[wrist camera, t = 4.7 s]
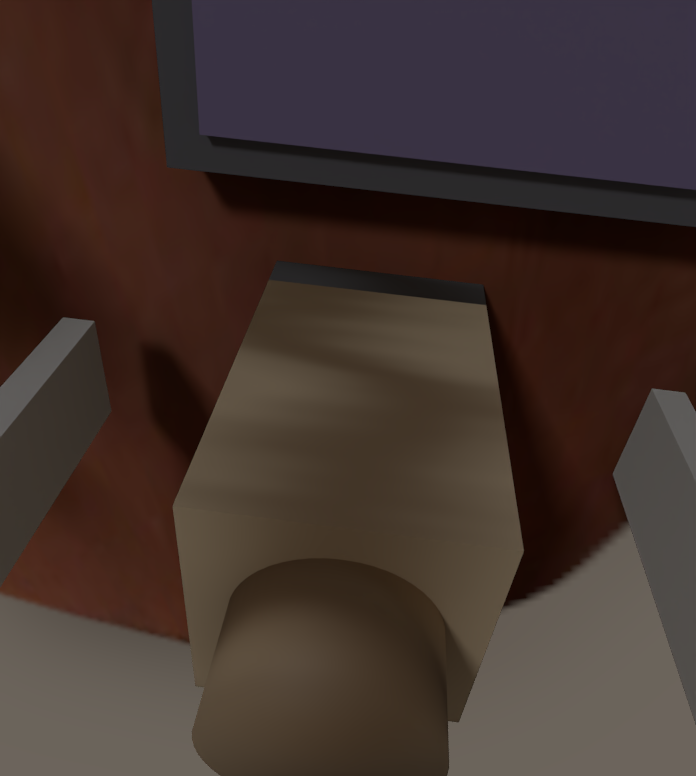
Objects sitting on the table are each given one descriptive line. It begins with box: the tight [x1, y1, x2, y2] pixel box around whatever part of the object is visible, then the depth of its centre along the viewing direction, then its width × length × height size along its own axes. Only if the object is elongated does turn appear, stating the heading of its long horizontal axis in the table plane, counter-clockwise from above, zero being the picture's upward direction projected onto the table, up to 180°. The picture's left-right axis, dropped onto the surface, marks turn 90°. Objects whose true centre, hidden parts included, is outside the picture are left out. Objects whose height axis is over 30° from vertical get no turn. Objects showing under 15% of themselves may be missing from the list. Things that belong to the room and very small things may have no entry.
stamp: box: [173, 261, 524, 776], centre depth 13 cm, size 5×5×10 cm
